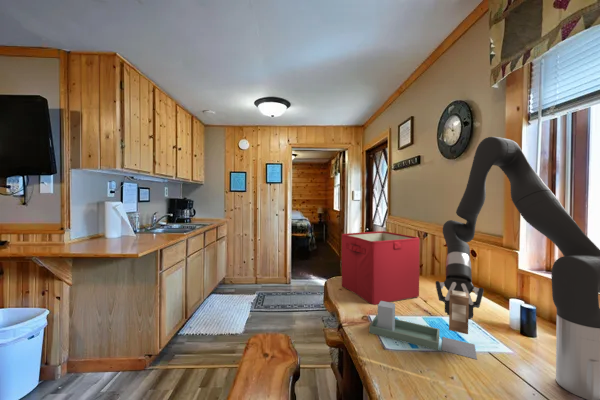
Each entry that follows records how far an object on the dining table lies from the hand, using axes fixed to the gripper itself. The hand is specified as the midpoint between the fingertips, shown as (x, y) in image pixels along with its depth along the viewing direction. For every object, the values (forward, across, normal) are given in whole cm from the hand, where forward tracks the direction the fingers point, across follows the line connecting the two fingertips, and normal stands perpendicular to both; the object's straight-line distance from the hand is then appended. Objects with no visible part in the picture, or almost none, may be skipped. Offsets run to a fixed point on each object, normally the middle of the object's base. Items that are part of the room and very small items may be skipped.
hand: (458, 316), depth 81 cm
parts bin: (+7, -16, +9) cm, 19 cm away
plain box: (+6, -22, +9) cm, 24 cm away
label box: (+2, 0, +5) cm, 5 cm away
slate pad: (+7, 0, +9) cm, 11 cm away
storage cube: (-20, -33, +37) cm, 54 cm away
